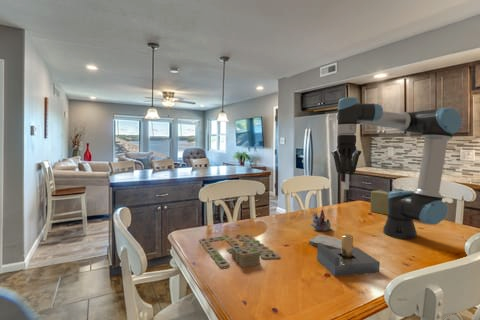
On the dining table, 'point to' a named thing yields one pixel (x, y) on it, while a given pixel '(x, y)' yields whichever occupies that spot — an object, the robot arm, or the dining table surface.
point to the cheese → (379, 202)
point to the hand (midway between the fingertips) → (345, 189)
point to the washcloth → (326, 242)
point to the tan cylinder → (347, 246)
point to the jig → (346, 261)
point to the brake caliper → (320, 222)
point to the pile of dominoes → (240, 250)
